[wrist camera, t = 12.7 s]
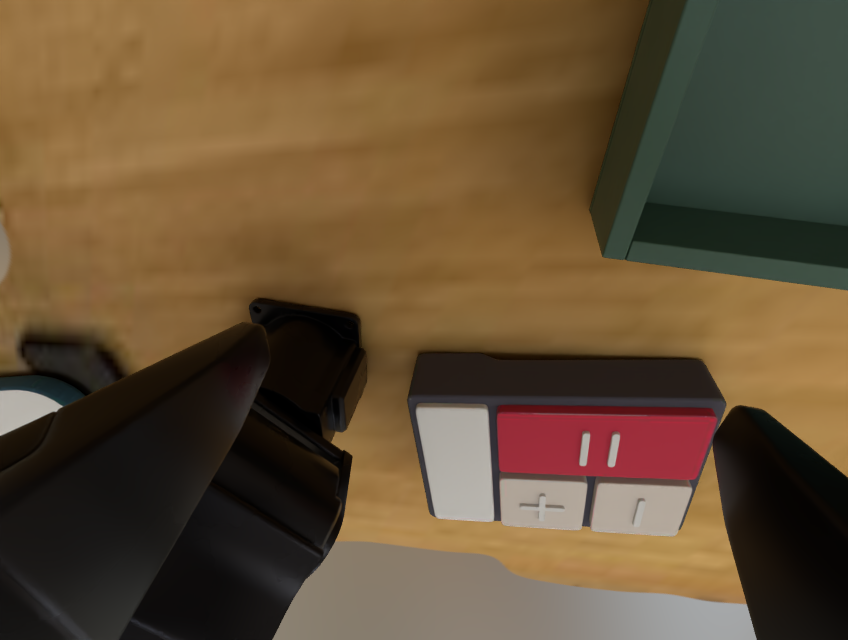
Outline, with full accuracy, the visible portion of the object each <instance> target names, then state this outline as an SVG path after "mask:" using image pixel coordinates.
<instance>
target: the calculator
mask: <svg viewBox="0 0 848 640" xmlns="http://www.w3.org/2000/svg"><path fill="white" fill-rule="evenodd" d="M407 401H408V407H409V412H410V417H411V422H412V427H413V432H414V437H415V442H416V447H417V452H418V457H419V463H420V468H421V473H422V478H423V483H424V488H425V493H426V498H427V503H428V508H429V512H430V514H431V515H432V516H434V517H437V518H439V519H450V520H466V521H482V522H492V521H501V523H502V524H503V525H505V526H516V527H532V528H548V529H563V530H580V529H581V528H582V526H588V527H590V528H591V530H592V531H596V532H610V533H626V534H641V535H657V536H675V535H676V534H677V532H678V530H680V529H681V527H682V525H683V522H684V520H685V517H686V514H687V511H688V509H689V506H690V503H691V501H692V498H693V495H694V492H695V490H696V487H697V484H698V481H699V479H700V476H701V473H702V471H703V468H704V465H705V462H706V460H707V457H708V454H709V452H710V449H711V446H712V443H713V438H714V435H715V433H716V431H717V430H718V427H719V424H720V422H721V419H722V416H723V413H724V411H725V408H726V401H725V399H724V397H723V396H722V394H721V392H720V390H719V388H718V387H717V385H716V383H715V381H714V379H713V378H712V376H711V374H710V372H709V370H708V369H707V367H706V365H705V364H704V362H702V361H701V360H497V359H494V358H492V357H489V356H487V355H484V354H482V353H426V354H420V355H419V356H418V357H417V360H416V364H415V368H414V373H413V377H412V381H411V385H410V390H409V394H408V399H407Z"/></svg>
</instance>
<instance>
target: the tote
mask: <svg viewBox="0 0 848 640" xmlns="http://www.w3.org/2000/svg"><path fill="white" fill-rule="evenodd" d="M589 211H590V213H591V217H592V221H593V224H594V228H595V232H596V235H597V239H598V243H599V246H600V250H601V254H602V257H605V258H612V259H620V260H624V259H625V260H627V261H634V262H641V263H649V264H656V265H664V266H671V267H678V268H686V269H693V270H701V271H708V272H716V273H723V274H730V275H738V276H745V277H753V278H760V279H768V280H775V281H782V282H790V283H797V284H805V285H812V286H820V287H827V288H834V289H842V290H848V0H650V1H649V5H648V8H647V11H646V15H645V18H644V22H643V25H642V29H641V32H640V36H639V39H638V43H637V46H636V50H635V53H634V57H633V60H632V63H631V67H630V70H629V74H628V77H627V81H626V84H625V88H624V91H623V95H622V98H621V102H620V105H619V109H618V112H617V115H616V119H615V122H614V126H613V129H612V133H611V136H610V140H609V143H608V147H607V150H606V154H605V157H604V160H603V164H602V167H601V171H600V174H599V178H598V181H597V185H596V188H595V192H594V195H593V199H592V202H591V206H590V209H589Z"/></svg>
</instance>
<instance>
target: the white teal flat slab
mask: <svg viewBox="0 0 848 640" xmlns="http://www.w3.org/2000/svg"><path fill="white" fill-rule="evenodd" d="M83 397H85V395H84V394H83V393H82V392H80V391H79V390H78V389H76V388H75V387H73V386H71V385H70V384H68V383H66V382H64V381H61V380H58V379H56V378H52V377H47V376H39V375H27V376H14V377H1V378H0V436H1V435H3V434H5V433H8V432H10V431H12V430H14V429H16V428H19V427H21V426H23V425H25V424H27V423H30V422H32V421H34V420H36V419H38V418H40V417H42V416H44V415H46V414H49V413H51V412H53V411H55V412H57V411H58V409H60V408H61V407H64V406H66V405H68V404H70V403H72V402H74V401H76V400H78V399H81V398H83Z"/></svg>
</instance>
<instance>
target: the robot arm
mask: <svg viewBox="0 0 848 640" xmlns="http://www.w3.org/2000/svg"><path fill="white" fill-rule="evenodd" d="M257 306H258V307H259V308H261V309H259V308H258V307H257ZM249 310H250V315H251V319H252V323H248V322H242V323H240V324H237V325H235V326H233V327H231V328H229V329H227V330H225V331H223V332H221V333H218V334H216V335H214V336H212V337H210V338H208V339H206V340H204V341H201V342H199V343H197V344H195V345H193V346H191V347H189V348H187V349H185V350H182V351H180V352H178V353H176V354H174V355H172V356H170V357H168V358H165V359H163V360H161V361H159V362H157V363H155V364H153V365H151V366H148V367H146V368H144V369H142V370H140V371H138V372H136V373H134V374H131V375H129V376H127V377H125V378H123V379H121V380H119V381H117V382H115V383H112V384H110V385H108V386H106V387H104V388H102V389H100V390H98V391H95V392H93V393H91V394H89V395H87V396H85V397H83V398H81V399H78V400H76V401H74V402H72V403H70V404H68V405H66V406H64V407H61V408H60V409H58V411H57V412H55V411H53V412H51V413H49V414H46V415H44V416H42V417H40V418H38V419H36V420H34V421H32V422H30V423H27V424H25V425H23V426H21V427H19V428H16V429H14V430H12V431H10V432H8V433H5V434H3V435H1V436H0V640H272V639H273V637H274V635H275V633H276V631H277V629H278V627H279V625H280V623H281V621H282V619H283V617H284V615H285V613H286V611H287V610H288V608H289V606H290V604H291V602H292V600H293V598H294V597H295V595H296V593H297V592H298V590H299V589H300V587H301V586H302V584H303V582H304V581H305V579H306V578H308V577H309V576H310V575H311V574H312V573H313V572H314V571H315V570H316V569H317V568H318V567H319V566H320V564H321V563H322V562H323V560H324V559H325V557H326V556H327V555H328V553H329V551H330V549H331V548H332V546H333V544H334V542H335V540H336V538H337V536H338V534H339V531H340V528H341V525H342V522H343V518H344V512H345V505H346V498H347V491H348V485H349V478H350V471H351V464H352V455H350V454H349V453H348V452H346V451H345V450H343V451H342V450H340V449H339V448H338V447H336V446H335V445H333V444H332V443H331V441H332V439H333V436H334V434H335V432H336V431H337V432H344V431H345V430H346V429H347V428H348V425H349V423H350V420H351V418H352V416H353V413H354V411H355V409H356V406H357V404H358V401H359V399H360V398H361V396H362V393H363V390H364V387H365V385H366V383H367V365H366V351H365V350H364V348H361V323H360V319H359V318H358V316H356V315H354V314H351V313H345V312H339V311H332V310H326V309H320V308H314V307H307V306H301V305H295V304H289V303H282V302H276V301H270V300H264V299H255V300H253V302H252V303H251V304H250V305H249ZM348 321H350V322H352V323H353V324H350V323H349V322H348ZM713 452H714V459H715V465H716V471H717V478H718V484H719V490H720V497H721V503H722V510H723V515H724V520H725V526H726V530H727V534H728V538H729V541H730V545H731V549H732V552H733V556H734V559H735V563H736V566H737V570H738V574H739V577H740V581H741V584H742V588H743V592H744V595H745V599H746V602H747V606H748V610H749V613H750V617H751V620H752V624H753V627H754V631H755V635H756V638H757V640H848V477H847V476H845V475H844V474H843V473H842V472H840V471H839V470H838V469H837V468H835V467H834V466H833V465H832V464H830V463H829V462H828V461H827V460H825V459H824V458H823V457H822V456H820V455H819V454H818V453H817V452H816V451H814V450H813V449H812V448H811V447H809V446H808V445H807V444H806V443H804V442H803V441H802V440H801V439H799V438H798V437H797V436H796V435H794V434H793V433H792V432H791V431H789V430H788V429H787V428H786V427H785V426H783V425H782V424H781V423H780V422H778V421H777V420H776V419H775V418H773V417H772V416H771V415H770V414H768V413H767V412H766V411H764V410H762V409H759V408H754V407H748V406H742V405H739V406H735V407H734V408H732V409H731V411H730V412H729V414H728V415H727V416H726V418H725V419H724V421H723V422H722V424H721V425H720V427H719V428H718V430H717V431H716V433H715V435H714V438H713Z"/></svg>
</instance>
